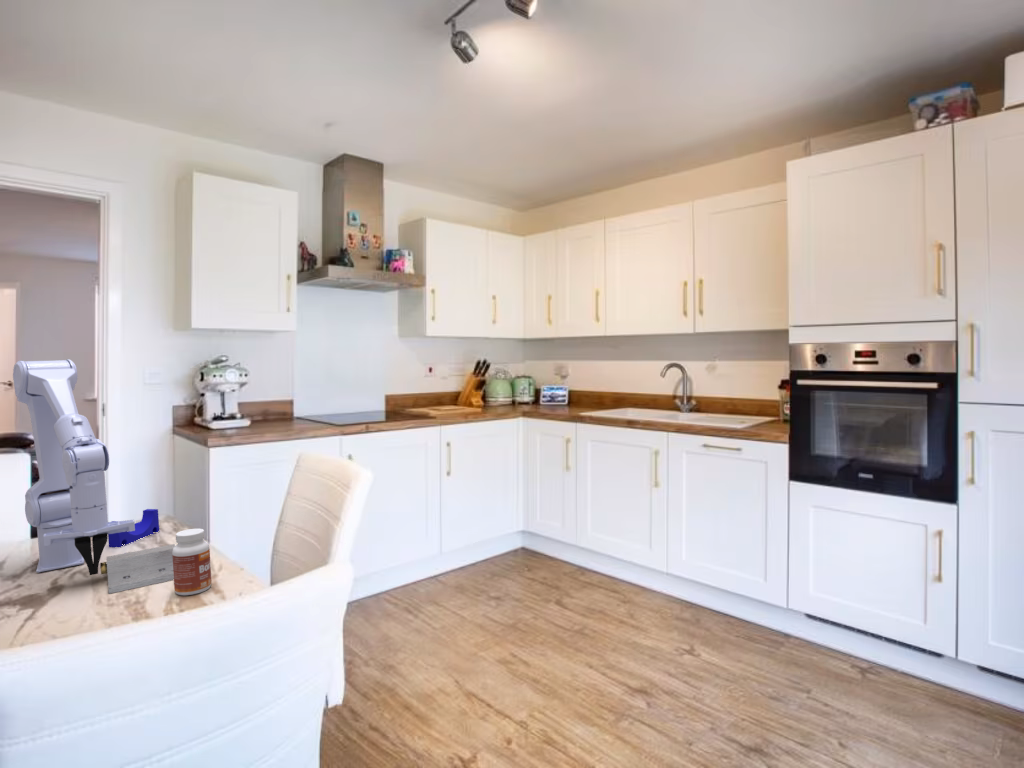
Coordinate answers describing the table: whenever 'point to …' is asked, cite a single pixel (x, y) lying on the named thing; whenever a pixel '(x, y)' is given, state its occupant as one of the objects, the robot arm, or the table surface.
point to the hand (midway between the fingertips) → (93, 573)
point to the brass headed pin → (103, 568)
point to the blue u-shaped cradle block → (136, 529)
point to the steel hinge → (140, 568)
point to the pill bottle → (191, 562)
